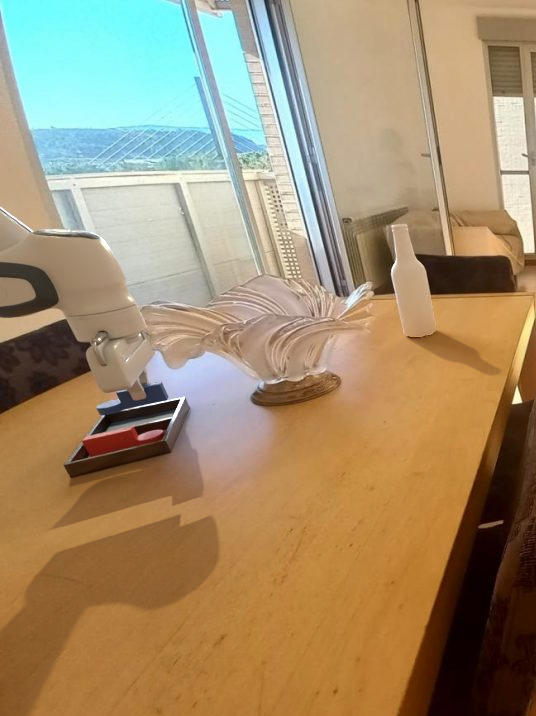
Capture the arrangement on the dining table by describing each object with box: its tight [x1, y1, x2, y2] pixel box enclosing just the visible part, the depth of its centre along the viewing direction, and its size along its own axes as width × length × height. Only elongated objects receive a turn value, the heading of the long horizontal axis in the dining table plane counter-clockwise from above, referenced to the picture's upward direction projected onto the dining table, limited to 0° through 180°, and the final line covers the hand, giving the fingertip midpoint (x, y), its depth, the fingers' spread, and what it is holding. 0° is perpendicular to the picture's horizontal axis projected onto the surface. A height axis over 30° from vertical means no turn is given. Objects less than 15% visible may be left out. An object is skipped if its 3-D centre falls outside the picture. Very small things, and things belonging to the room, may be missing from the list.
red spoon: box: [81, 426, 165, 457], centre depth 81 cm, size 9×4×3 cm, turn 123°
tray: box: [62, 396, 190, 479], centre depth 85 cm, size 12×20×2 cm, turn 33°
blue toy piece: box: [95, 381, 169, 416], centre depth 87 cm, size 9×4×3 cm, turn 123°
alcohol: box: [390, 223, 437, 337], centre depth 129 cm, size 9×9×30 cm
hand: (143, 395), depth 88 cm, fingers closed on blue toy piece
